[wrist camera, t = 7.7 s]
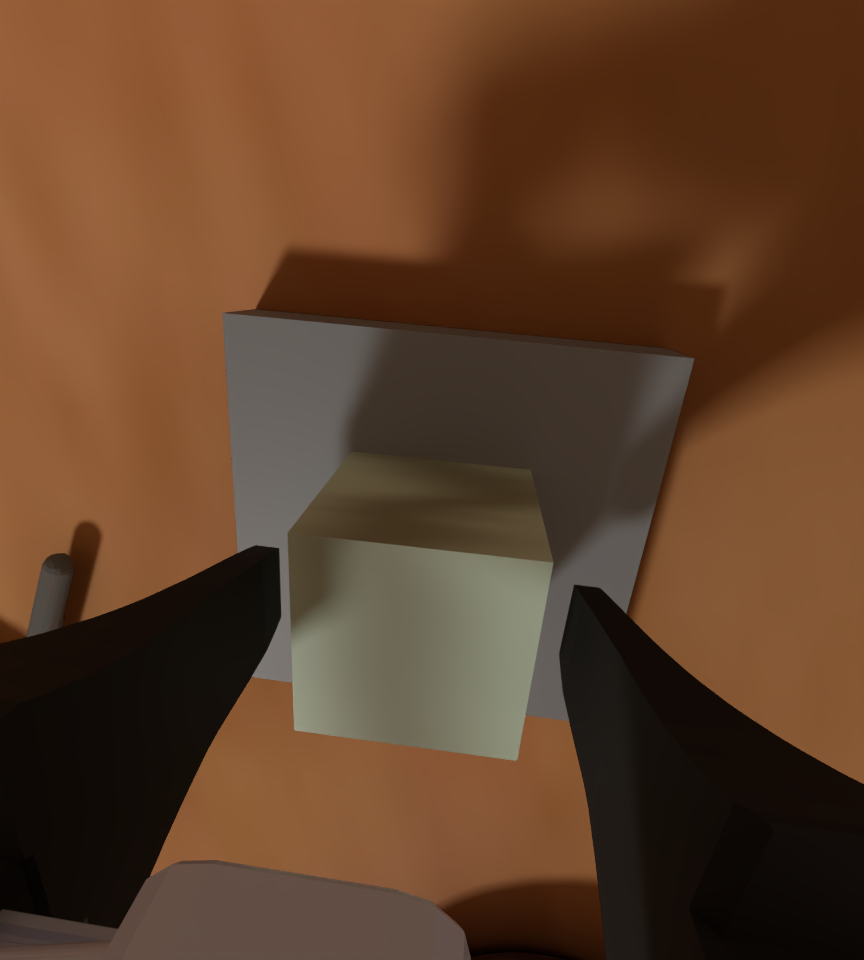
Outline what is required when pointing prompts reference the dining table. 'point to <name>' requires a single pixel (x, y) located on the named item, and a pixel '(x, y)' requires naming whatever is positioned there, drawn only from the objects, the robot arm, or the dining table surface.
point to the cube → (418, 604)
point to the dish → (514, 956)
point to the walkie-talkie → (51, 594)
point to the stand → (455, 439)
